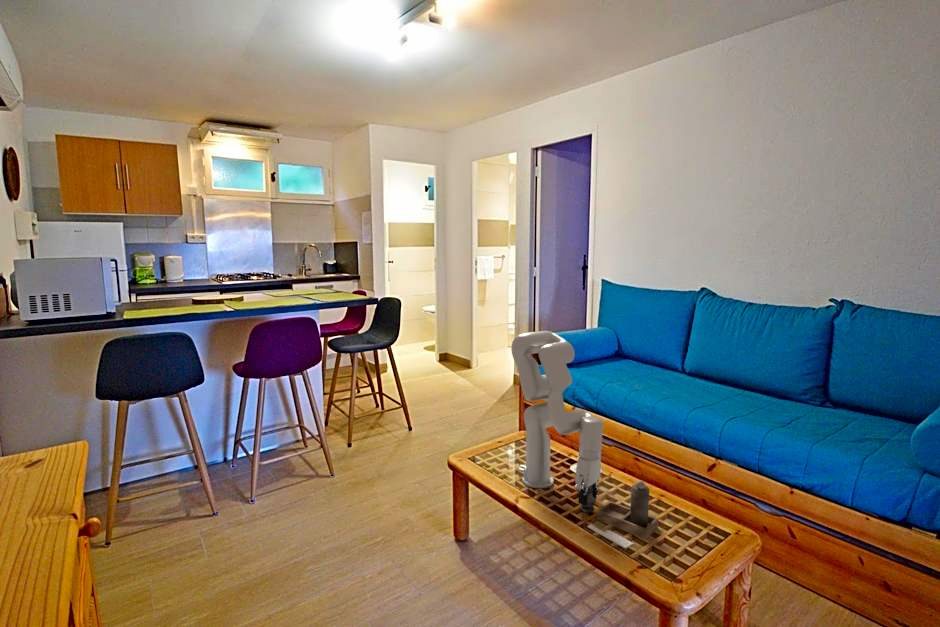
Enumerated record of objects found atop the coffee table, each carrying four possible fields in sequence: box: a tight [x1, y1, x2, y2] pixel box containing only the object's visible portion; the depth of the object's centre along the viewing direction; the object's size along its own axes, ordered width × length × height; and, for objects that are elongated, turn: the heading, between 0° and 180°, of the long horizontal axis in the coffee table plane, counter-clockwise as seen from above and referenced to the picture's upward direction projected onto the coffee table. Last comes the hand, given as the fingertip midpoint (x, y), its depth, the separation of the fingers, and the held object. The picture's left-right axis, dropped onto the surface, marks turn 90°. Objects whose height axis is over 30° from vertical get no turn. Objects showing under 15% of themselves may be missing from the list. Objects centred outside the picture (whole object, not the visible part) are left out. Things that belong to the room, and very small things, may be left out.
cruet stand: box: [596, 480, 659, 540], centre depth 164 cm, size 17×9×17 cm, turn 47°
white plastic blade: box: [587, 524, 635, 550], centre depth 158 cm, size 5×15×1 cm, turn 36°
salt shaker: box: [579, 483, 597, 513], centre depth 172 cm, size 6×6×12 cm
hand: (587, 500), depth 173 cm, fingers closed on salt shaker, 5 cm apart
